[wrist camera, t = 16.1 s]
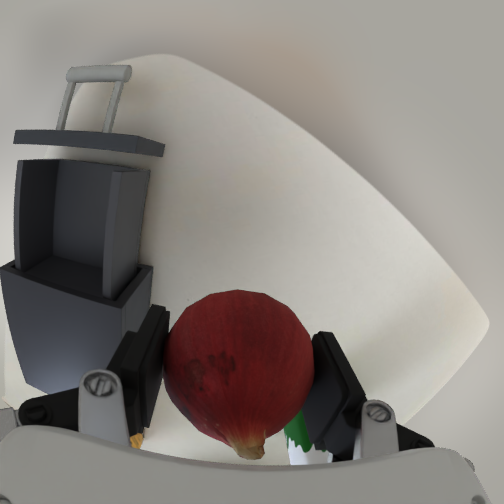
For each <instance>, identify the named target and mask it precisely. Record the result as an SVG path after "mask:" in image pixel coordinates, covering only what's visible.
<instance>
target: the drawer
mask: <svg viewBox="0 0 504 504" xmlns="http://www.w3.org/2000/svg"><path fill="white" fill-rule="evenodd" d="M131 74H132V67H131V66H130V65H99V66H81V67H71V68H70V69H69V70H68V72H67V74H66V80H67V82H68V85H67V88H66V91H65V95H64V98H63V102H62V106H61V110H60V114H59V118H58V122H57V127H56V130H16V131H15V136H14V142H13V144H37V145H38V144H39V145H56V146H71V147H83V148H93V149H103V150H112V151H120V152H128V153H136V154H144V155H151V156H158V157H163V153H164V148H165V144H162V143H159V142H156V141H153V140H150V139H146V138H143V137H140V136H134V135H125V134H115V133H111V132H112V127H113V123H114V119H115V115H116V111H117V107H118V103H119V100H120V96H121V93H122V89H123V86H124V83H123V82H128V81H129V80H130V78H131ZM83 82H115V86H114V89H113V92H112V96H111V99H110V103H109V107H108V111H107V114H106V118H105V123H104V127H103V131H102V132H90V131H71V130H64V129H65V124H66V120H67V115H68V111H69V107H70V104H71V100H72V96H73V93H74V89H75V86H76V83H83ZM149 175H150V170H143V169H137V168H130V167H123V166H116V165H109V164H101V163H93V162H85V161H76V160H66V159H34V160H19V161H18V164H17V172H16V182H15V197H14V253H15V267H16V269H17V270H19V271H22V272H25V273H27V274H30V275H33V276H36V277H39V278H42V279H44V280H47V281H50V282H53V283H56V284H59V285H62V286H65V287H69V288H72V289H75V290H78V291H81V292H85V293H88V294H92V295H95V296H98V297H102V298H105V299H109V300H113V301H116V300H117V299H118V297H119V296H120V295H121V294H122V293H123V291H124V290H125V289H126V288H127V286H128V285H129V284H130V283H131V282H132V280H133V279H134V278H135V277H136V273H137V262H138V251H139V242H140V234H141V226H142V218H143V211H144V205H145V198H146V192H147V186H148V181H149Z"/></svg>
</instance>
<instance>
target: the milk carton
mask: <svg viewBox="0 0 504 504" xmlns="http://www.w3.org/2000/svg"><path fill="white" fill-rule="evenodd" d="M284 433H285V437H286V443H287V448H288V453H289V458H290V463H291V465H309V464H322V463H327V461H328V455H329V452H328V451H327V450H315V447H314V444H311V443H310V440H309V436H308V433H307V429H306V425H305V421H304V417H303V414H302V410H300V411H299V413H298V414H297V415H296V416H295V417H294V418H293V419H292V420H291V421H290V422H289V423H288V424H287V425H286V426H285V427H284Z"/></svg>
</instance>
